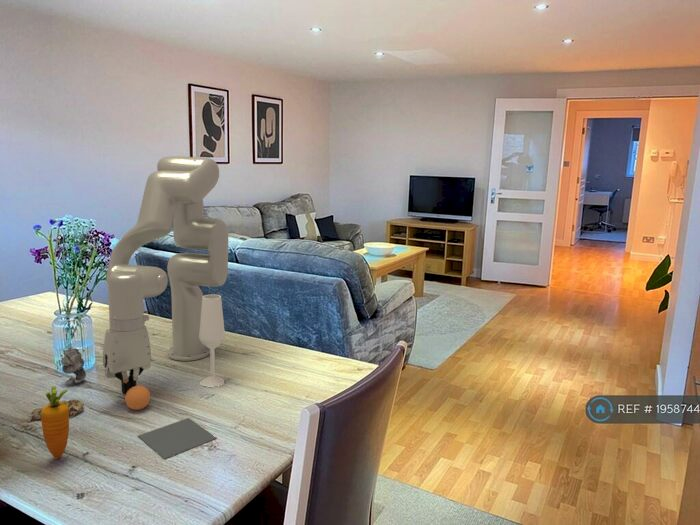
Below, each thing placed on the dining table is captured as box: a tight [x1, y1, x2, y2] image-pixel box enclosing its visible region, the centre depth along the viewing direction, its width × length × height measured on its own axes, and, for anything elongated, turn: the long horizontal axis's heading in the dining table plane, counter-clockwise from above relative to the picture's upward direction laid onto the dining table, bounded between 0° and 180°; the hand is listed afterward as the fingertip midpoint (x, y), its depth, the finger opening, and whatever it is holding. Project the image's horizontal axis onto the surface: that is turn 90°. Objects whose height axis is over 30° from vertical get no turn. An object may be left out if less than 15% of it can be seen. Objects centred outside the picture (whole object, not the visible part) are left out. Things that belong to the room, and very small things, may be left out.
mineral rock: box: [30, 399, 85, 422], centre depth 119 cm, size 11×4×8 cm
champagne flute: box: [199, 294, 226, 387], centre depth 138 cm, size 7×7×24 cm
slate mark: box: [137, 417, 218, 460], centre depth 111 cm, size 12×12×1 cm
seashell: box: [60, 346, 87, 385], centre depth 135 cm, size 5×5×10 cm
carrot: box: [40, 385, 70, 460], centre depth 100 cm, size 5×5×15 cm
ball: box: [124, 385, 151, 411], centre depth 123 cm, size 6×6×6 cm
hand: (129, 395), depth 126 cm, fingers closed
